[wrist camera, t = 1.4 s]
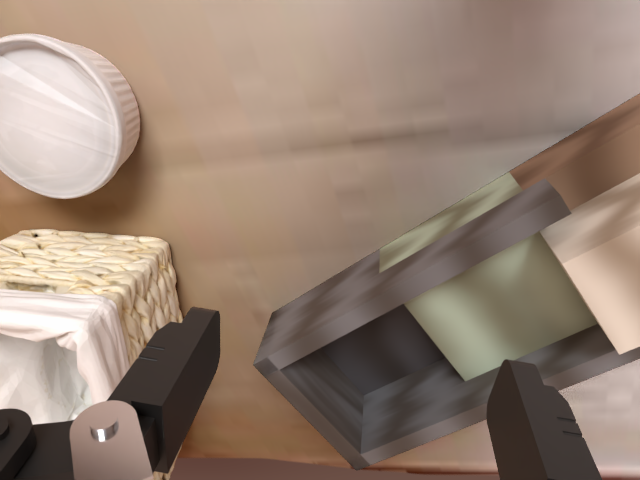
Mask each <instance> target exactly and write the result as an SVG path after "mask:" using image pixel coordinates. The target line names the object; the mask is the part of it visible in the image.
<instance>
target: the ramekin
mask: <svg viewBox="0 0 640 480" xmlns="http://www.w3.org/2000/svg"><path fill="white" fill-rule="evenodd" d="M139 132H140V113H139V109H138V104H137V102H136V99H135V96H134V94H133V92H132V89H131V87H130V86H129V84H128V82H127V80H126V79H125V78H124V77H123V75H122V73H121V72H120V71H119V70H118V69H117V68H116V67H115V66H114V65H113V64H111V63H110V62H109V61H108V60H107V59H106V58H104V57H103V56H101V55H100V54H98V53H96V52H94V51H93V50H91V49H89V48H85V47H83V46H81V45H76V44H72V43H68V42H62V41H60V40H58V39H55V38H52V37H48V36H45V35H39V34H15V35H9V36H5V37H2V38H0V170H1V171H2V172H3V173H4V174H6V175H7V176H8V177H10V178H11V179H12V180H13V181H15V182H17V183H18V184H20V185H21V186H23V187H25V188H27V189H29V190H31V191H33V192H35V193H38V194H41V195H44V196H47V197H51V198H61V199H72V198H77V197H81V196H85V195H88V194H90V193H92V192H94V191H96V190H98V189H99V188H101V187H103V186H104V185H105V184H106V183H108V182H109V181H110V180H111V179H112V177H113V176H114V175H115V174H116V172H117V171H118V169H119V167H120V166H121V165H122V164H123V163H124V162H125V161H126V160H127V159H128V158H129V156H130V155H131V154H132V152H133V150H134V148H135V146H136V144H137V140H138V138H139Z"/></svg>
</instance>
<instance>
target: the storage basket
mask: <svg viewBox="0 0 640 480" xmlns="http://www.w3.org/2000/svg"><path fill="white" fill-rule="evenodd" d="M35 235H38V237H35ZM176 282H177V280H176V273H175V270H174V268H173V266H172V259H171V252H170V247H169V244H168V243H167V242H165V241H164V240H162V239H160V238H155V237H143V236H140V237H135V236H129V235H110V234H106V233H94V232H93V233H84V232H78V231H58V230H54V229H38V230H33V229H32V230H23V231H20V232H19V233H18V234H14V235H12V236H11V237H8V238H5V239H3V240H2V241H0V409H9V408H12V409H19V410H22V411H24V412H26V413H27V414H28V415H29V416H30V418H31V421H32V424H33V425H34V424H44V423H54V422H64V421H71V420H75V418H76V417H77V416H78V415H79V414H80V413H81V412H83V411H84V410H85V409H87V408H88V407H90V406H92V405H94V404H97V403H100V402H104V401H107V399H108V398H109V397H110V395H111V394H112V393H113V391H114V390H115V388H116V387H117V385H118V384H119V383H120V381H121V380H122V378H123V377H124V376H125V374H126V373H127V371H128V370H129V369H130V367H131V366H132V364H133V363H134V362H135V360H136V359H138V357H139V354H140V353H141V352H142V350H143V349H144V348H146V345H147V343H148V342H149V340H150V339H151V338H152V336H153V335H154V333H155V332H156V331H157V330H159V329H160V328H162V327H163V326H165V325H166V324H168V323H169V322H177V323H182V321H183V317H182V313H181V311H180V309H179V305H180V303H179V302H178V296H177V292H176V288H175V284H176ZM182 444H183V443H182ZM181 448H182V445H181V447H180V450H181ZM180 450H179V451H180ZM178 454H179V452H178ZM178 454H177V456H178ZM177 456H176V458H175V460H174V462H173V464H172V467H171V469H170V471H169V473H168V474H166V473H161V472H156V471H154V473H153V477H154V480H169V479H170V476H171V472H172V471H173V469H174V466H175V461H176V459H177Z"/></svg>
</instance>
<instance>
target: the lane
mask: <svg viewBox="0 0 640 480" xmlns="http://www.w3.org/2000/svg"><path fill="white" fill-rule="evenodd" d="M639 173H640V94H638V95H636V96H635V97H633V98H631V99H630V100H628V101H626V102H625V103H623V104H621V105H620V106H618V107H616V108H615V109H613V110H611V111H610V112H608V113H606V114H605V115H603V116H601V117H600V118H598V119H596V120H595V121H593V122H591V123H590V124H588V125H586V126H585V127H583V128H581V129H580V130H578V131H576V132H575V133H573V134H571V135H570V136H568V137H566V138H564V139H563V140H561V141H559V142H558V143H556V144H554V145H553V146H551V147H549V148H548V149H546V150H544V151H543V152H541V153H539V154H538V155H536V156H534V157H533V158H531V159H529V160H528V161H526V162H524V163H523V164H521V165H519V166H518V167H516V168H514V169H513V170H511V171H509V172H508V173H506V174H504V175H503V176H501V177H499V178H498V179H496V180H494V181H493V182H491V183H489V184H488V185H486V186H484V187H483V188H481V189H479V190H477V191H476V192H474V193H472V194H471V195H469V196H467V197H466V198H464V199H462V200H461V201H459V202H457V203H456V204H454V205H452V206H451V207H449V208H447V209H446V210H444V211H442V212H441V213H439V214H437V215H436V216H434V217H432V218H431V219H429V220H427V221H426V222H424V223H422V224H421V225H419V226H417V227H416V228H414V229H412V230H411V231H409V232H407V233H406V234H404V235H402V236H401V237H399V238H397V239H395V240H394V241H392V242H390V243H389V244H387V245H385V246H384V247H382V248H380V249H379V250H377V251H375V252H374V253H372V254H370V255H369V256H367V257H365V258H364V259H362V260H360V261H359V262H357V263H355V264H354V265H352V266H350V267H349V268H347V269H345V270H344V271H342V272H340V273H339V274H337V275H335V276H334V277H332V278H330V279H329V280H327V281H325V282H324V283H322V284H320V285H319V286H317V287H315V288H314V289H312V290H310V291H308V292H307V293H305V294H303V295H302V296H300V297H298V298H297V299H295V300H293V301H292V302H290V303H288V304H287V305H285V306H283V307H282V308H280V309H278V310H277V311H275V312H273V313H272V315H271V318H270V321H269V323H268V326H267V329H266V331H265V334H264V337H263V339H262V342H261V345H260V347H259V350H258V353H257V356H256V358H255V361H254V364H253V365H254V366H255V367H256V369H257V370H258V371H259V372H260V373H261V374H262V375H263V376H264V377H265V378H266V379H267V380H268V381H269V382H270V383H271V384H272V385H273V386H274V387H275V388H276V389H277V390H278V391H279V392H280V393H281V394H282V395H283V396H284V397H285V398H286V399H287V400H288V401H289V402H290V403H291V404H292V405H293V406H294V407H295V408H296V409H297V410H298V411H299V412H300V413H301V414H302V415H303V416H304V418H305V419H306V420H307V421H308V422H309V423H310V424H311V425H312V426H313V427H314V428H315V429H316V430H317V431H318V432H319V433H320V434H321V435H322V436H323V437H324V438H325V439H326V440H327V441H328V442H329V443H330V444H331V445H332V446H333V447H334V448H335V449H336V450H337V451H338V452H339V453H340V454H341V455H342V456H343V457H344V458H345V459H346V460H347V461H348V462H349V463H350V464H351V466H352V467H353V468H354V469H355V470H360V469H362V468H365V467H367V466H370V465H372V464H375V463H377V462H380V461H382V460H385V459H387V458H390V457H392V456H395V455H397V454H400V453H403V452H405V451H408V450H410V449H413V448H415V447H418V446H420V445H423V444H425V443H428V442H430V441H433V440H435V439H438V438H440V437H443V436H445V435H448V434H451V433H453V432H456V431H458V430H461V429H463V428H466V427H468V426H471V425H473V424H476V423H478V422H481V421H483V420H486V419H487V415H486V412H487V403H488V399H489V396H490V393H491V390H492V388H493V385H494V382H495V380H496V377H497V374H498V372H499V369H500V366H501V364H502V362H503V361H504V360H505V359H508V360H514V361H520V362H526V363H532V364H535V365H536V367H537V369H538V371H539V374H540V376H541V379H542V381H543V384H544V385H547V386H553V387H554V388H555V389H556V390H557V391H559V390H562V389H564V388H567V387H569V386H572V385H574V384H577V383H579V382H582V381H584V380H587V379H589V378H592V377H594V376H597V375H599V374H602V373H605V372H607V371H610V370H612V369H615V368H617V367H620V366H622V365H625V364H627V363H630V362H632V361H635V360H637V359H640V347H637V348H635V349H632V350H630V351H627V352H625V353H623V354H620V355H619V353H618V352H617V350H616V349H615V347H614V346H613V345H612V343H611V342H610V340H609V339H608V337H607V336H606V334H605V333H604V331H603V330H602V328H601V327H600V325H599V324H598V322H597V321H596V319H595V318H594V316H593V315H592V313H591V312H590V310H589V309H588V307H587V306H586V304H585V303H584V301H583V299H582V298H581V296H580V295H579V293H578V292H577V290H576V288H575V287H574V285H573V284H572V282H571V281H570V279H569V277H568V276H567V274H566V273H565V271H564V270H563V268H562V266H561V265H560V263H559V262H558V260H557V258H556V257H555V255H554V254H553V252H552V251H551V249H550V247H549V246H548V244H547V243H546V241H545V240H544V238H543V236H542V235H541V233H540V232H539V231H540V230H542V229H544V228H546V227H548V226H550V225H552V224H553V223H555V222H557V221H559V220H561V219H563V218H565V217H567V216H568V215H570V214H572V213H571V212H570V211H571V210H572V209H574V208H576V207H578V206H580V205H582V204H584V203H585V202H587V201H589V200H591V199H593V198H595V197H597V196H598V195H600V194H602V193H604V192H606V191H608V190H610V189H611V188H613V187H615V186H617V185H619V184H621V183H623V182H625V181H626V180H628V179H630V178H632V177H634V176H636V175H638V174H639Z"/></svg>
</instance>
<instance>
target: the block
mask: <svg viewBox="0 0 640 480" xmlns="http://www.w3.org/2000/svg"><path fill="white" fill-rule="evenodd" d="M570 212H571V213H572V214H570V215H568V216H567V217H565V218H563V219H561V220H559V221H557V222H555V223H553V224H552V225H550V226H548V227H546V228H544V229H542V230H540V231H539V232H540V233H541V235H542V236H543V238H544V240H545V241H546V243H547V244H548V246H549V247H550V249H551V251H552V252H553V254H554V255H555V257H556V258H557V260H558V262H559V263H560V265H561V266H562V268H563V270H564V271H565V273H566V274H567V276H568V277H569V279H570V281H571V282H572V284H573V285H574V287H575V288H576V290H577V292H578V293H579V295H580V296H581V298H582V299H583V301H584V303H585V304H586V306H587V307H588V309H589V310H590V312H591V313H592V315H593V316H594V318H595V319H596V321H597V322H598V324H599V325H600V327H601V328H602V330H603V331H604V333H605V334H606V336H607V337H608V339H609V340H610V342H611V343H612V345H613V346H614V347H615V349H616V350H617V352H618V353H619V355H620V354H623V353H625V352H627V351H630V350H632V349H635V348H637V347H640V173H639V174H638V175H636V176H634V177H632V178H630V179H628V180H626V181H625V182H623V183H621V184H619V185H617V186H615V187H613V188H611V189H610V190H608V191H606V192H604V193H602V194H600V195H598V196H597V197H595V198H593V199H591V200H589V201H587V202H585V203H584V204H582V205H580V206H578V207H576V208H574V209H572V210H571V211H570Z"/></svg>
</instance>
